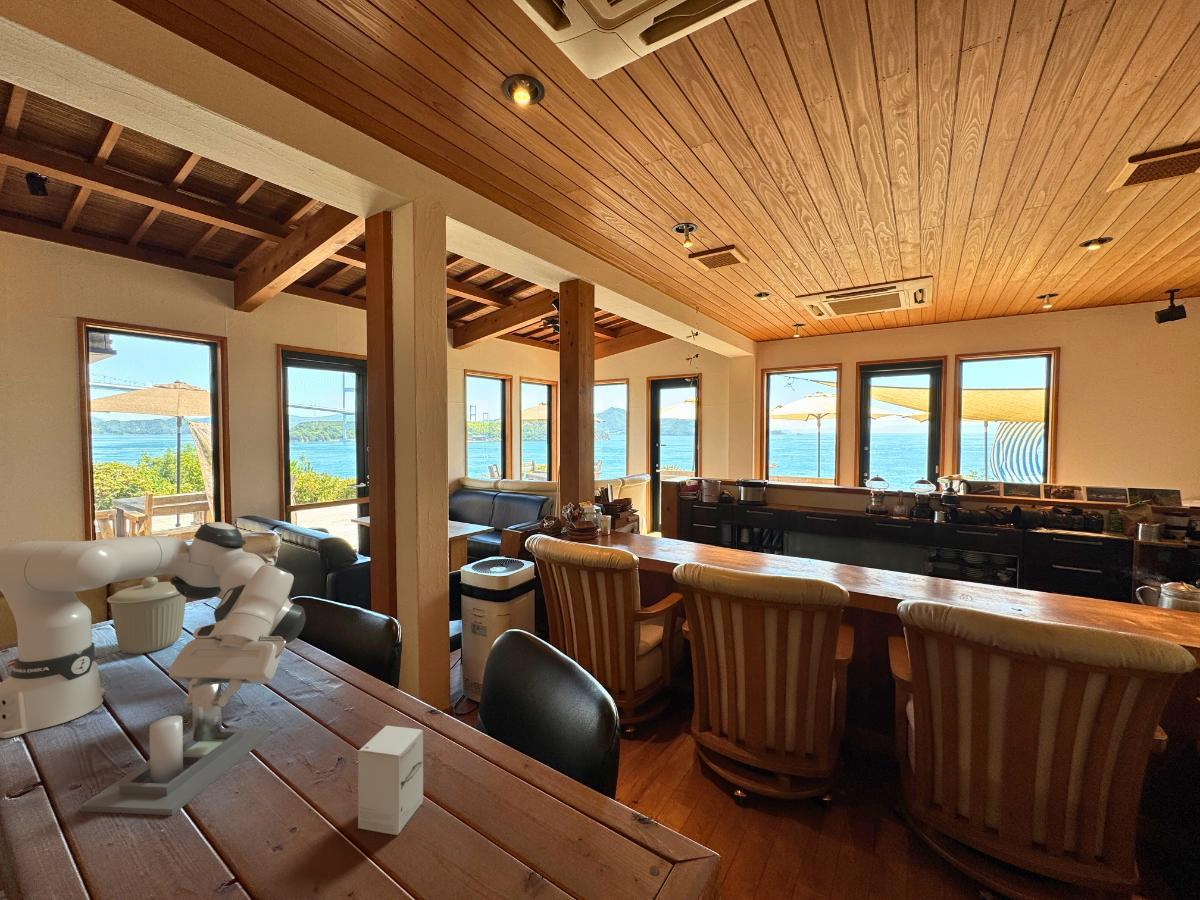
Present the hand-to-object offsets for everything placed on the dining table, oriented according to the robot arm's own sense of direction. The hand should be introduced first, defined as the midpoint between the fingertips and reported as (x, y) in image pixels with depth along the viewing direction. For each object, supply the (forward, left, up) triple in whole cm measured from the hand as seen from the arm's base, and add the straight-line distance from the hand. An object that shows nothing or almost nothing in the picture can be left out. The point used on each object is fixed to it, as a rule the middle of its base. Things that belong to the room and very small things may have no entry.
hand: (203, 705), depth 94 cm
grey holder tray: (0, -4, -10) cm, 11 cm away
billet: (0, +1, -6) cm, 6 cm away
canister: (-60, +47, -10) cm, 77 cm away
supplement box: (+44, -13, -10) cm, 47 cm away
